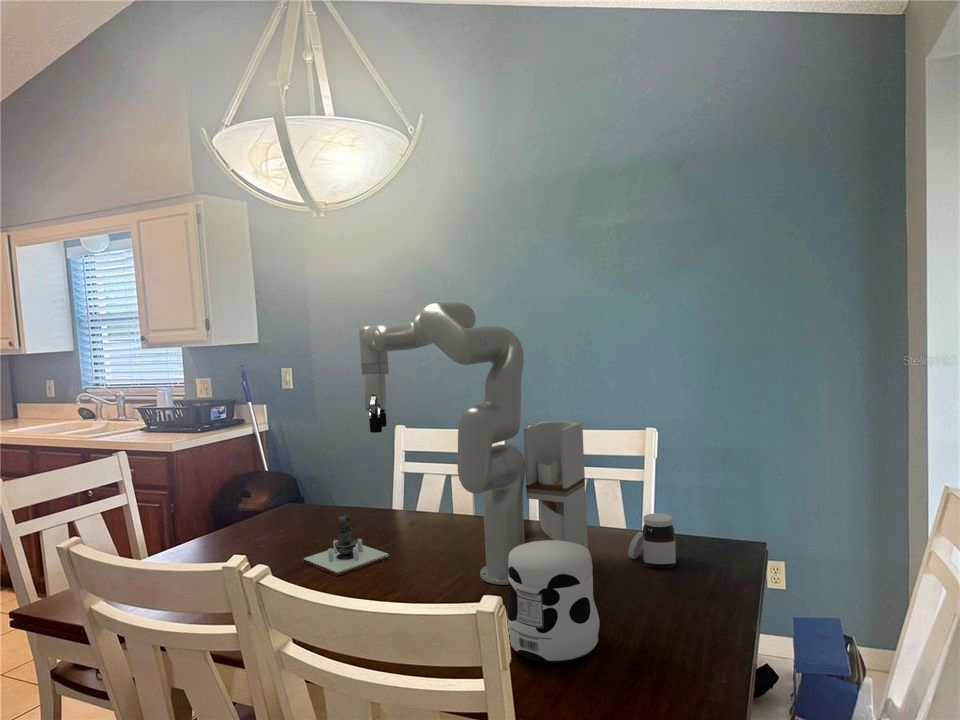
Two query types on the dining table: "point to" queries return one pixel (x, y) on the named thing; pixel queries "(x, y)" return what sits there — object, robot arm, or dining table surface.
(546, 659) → the milk container
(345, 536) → the salt shaker
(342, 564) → the pin tray
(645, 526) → the spread jar
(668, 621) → the dining table surface
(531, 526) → the dining table surface
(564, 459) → the open shelf unit
